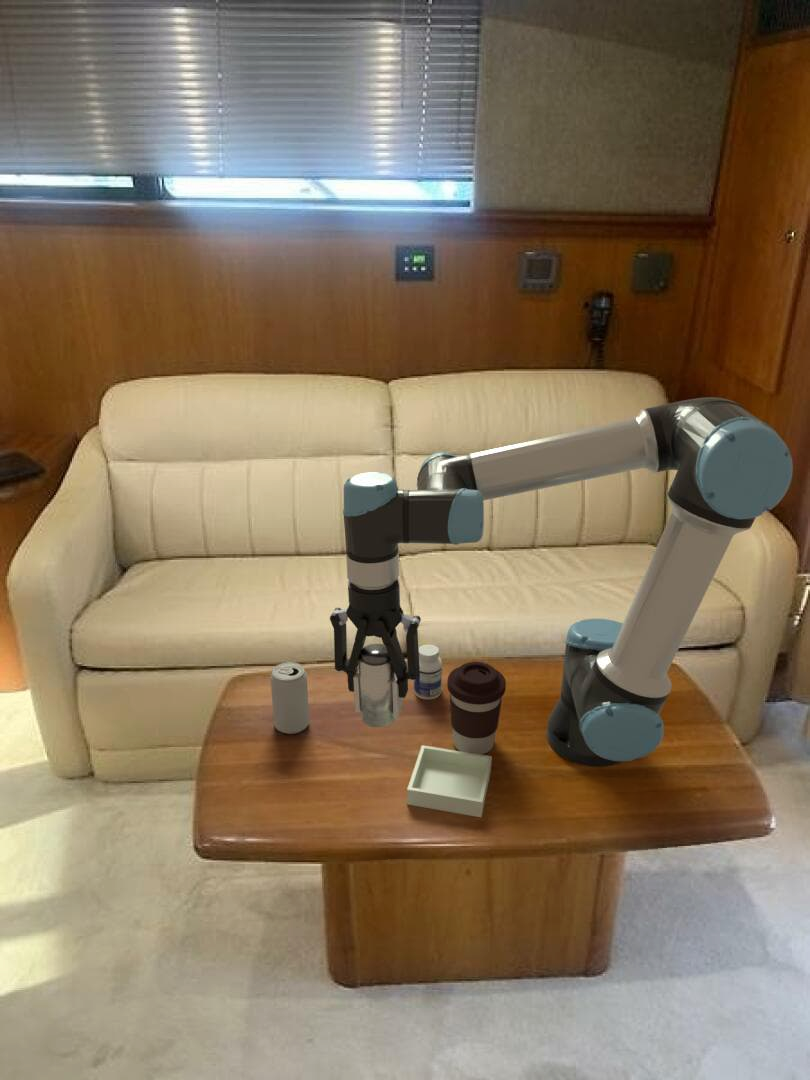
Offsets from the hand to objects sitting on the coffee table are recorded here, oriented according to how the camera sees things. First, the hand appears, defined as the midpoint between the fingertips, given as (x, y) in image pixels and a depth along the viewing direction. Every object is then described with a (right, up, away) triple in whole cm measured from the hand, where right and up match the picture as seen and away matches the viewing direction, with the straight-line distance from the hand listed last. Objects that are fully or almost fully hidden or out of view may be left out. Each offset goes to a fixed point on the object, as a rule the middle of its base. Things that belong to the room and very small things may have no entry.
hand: (378, 709), depth 123 cm
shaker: (0, -1, +1) cm, 1 cm away
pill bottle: (+8, -3, +30) cm, 31 cm away
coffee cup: (+16, -10, +16) cm, 25 cm away
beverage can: (-17, -7, +20) cm, 27 cm away
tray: (+11, -14, +6) cm, 19 cm away
